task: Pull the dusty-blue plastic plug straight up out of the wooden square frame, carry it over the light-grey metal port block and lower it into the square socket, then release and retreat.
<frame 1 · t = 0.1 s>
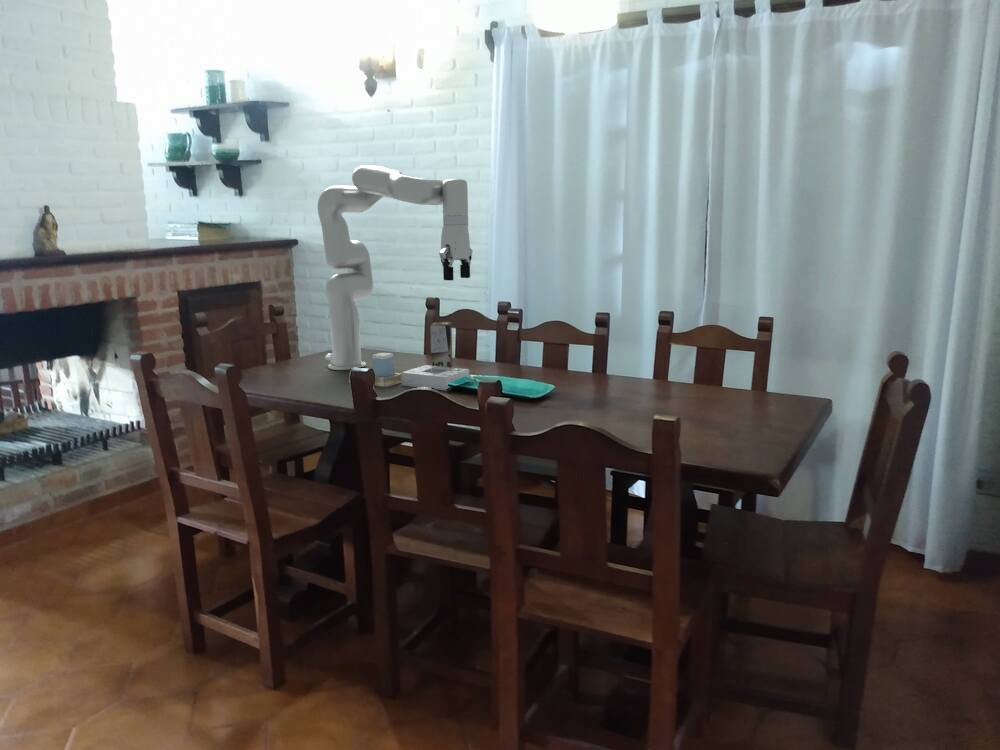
hand: (457, 279, 232), 31 cm above the table, fingers open, 9 cm apart
plug: (384, 383, 234), resting in wooden square frame
wooden square frame: (384, 382, 234), on the table
coffee box: (442, 372, 250), on the table
port: (435, 383, 232), on the table
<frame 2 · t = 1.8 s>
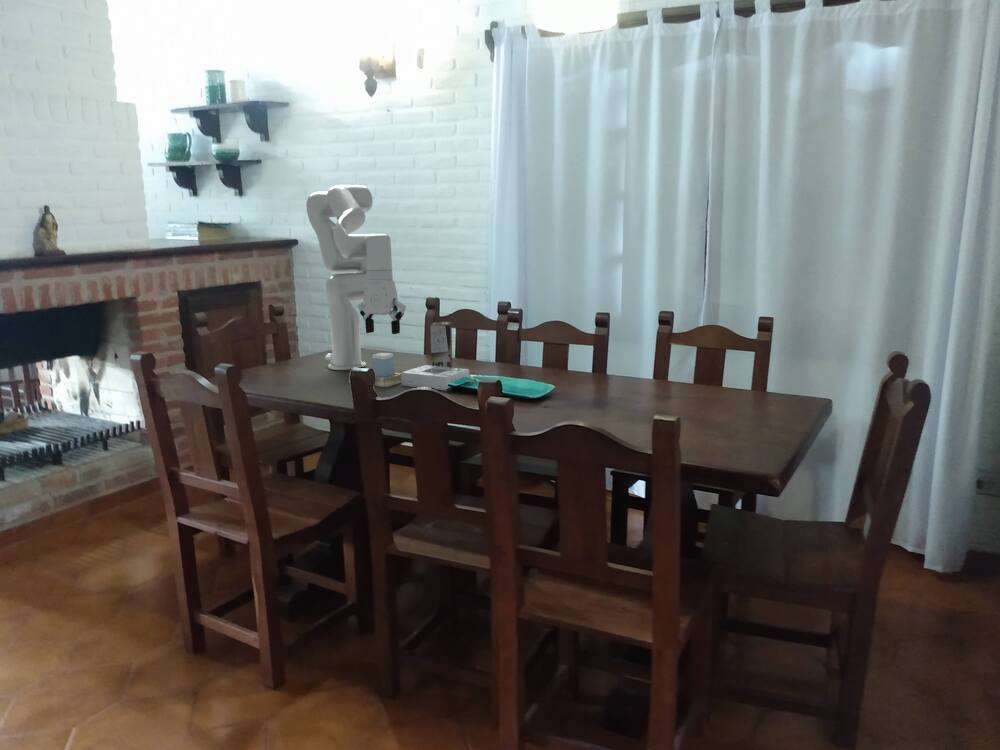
hand: (382, 333, 230), 16 cm above the table, fingers open, 9 cm apart
nothing on the table moved.
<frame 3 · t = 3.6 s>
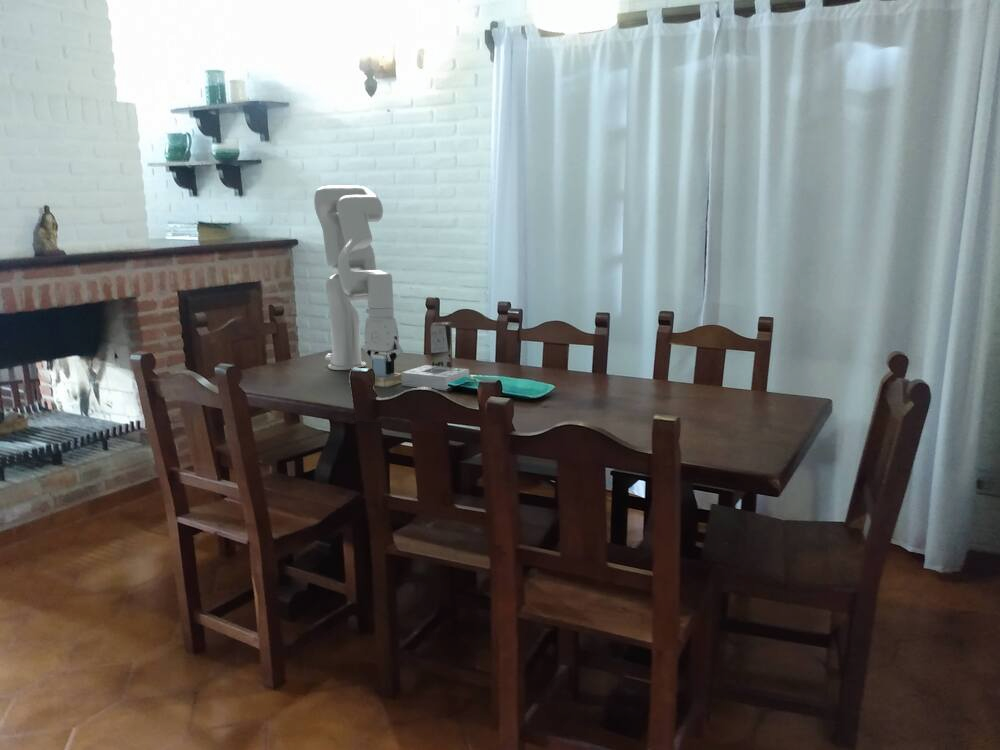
hand: (383, 372, 233), 3 cm above the table, fingers closed on plug, 4 cm apart
plug: (384, 383, 234), resting in wooden square frame, touching gripper
everything else where it was.
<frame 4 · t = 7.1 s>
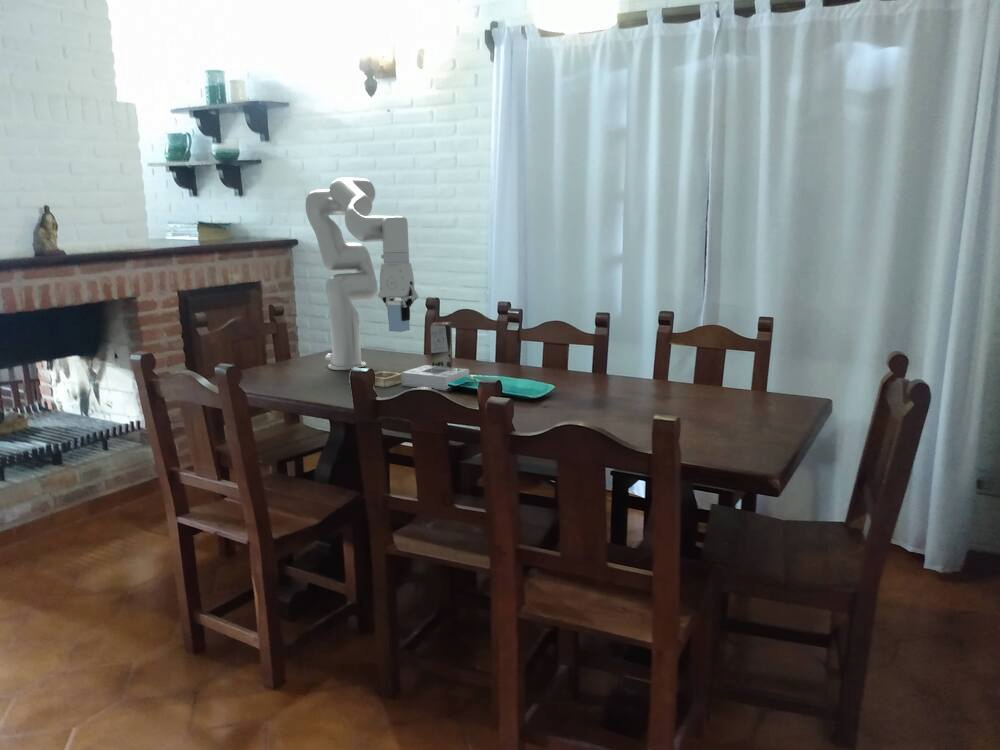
hand: (399, 319, 229), 20 cm above the table, fingers closed on plug, 4 cm apart
plug: (399, 330, 230), point 16 cm above the table, touching gripper
everything else where it was.
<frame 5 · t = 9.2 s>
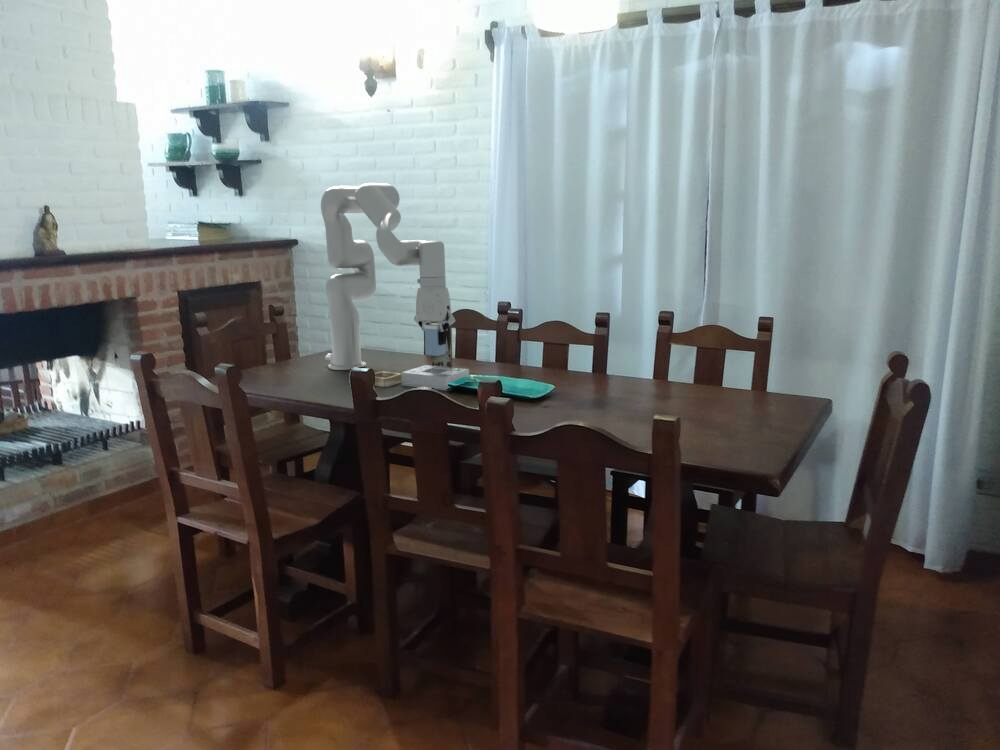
hand: (435, 343, 229), 12 cm above the table, fingers closed on plug, 4 cm apart
plug: (435, 354, 230), point 9 cm above the table, touching gripper
everything else where it was.
when the fingers open (6 cm above the table, at t = 10.9 s): plug drops 1 cm, resting on port.
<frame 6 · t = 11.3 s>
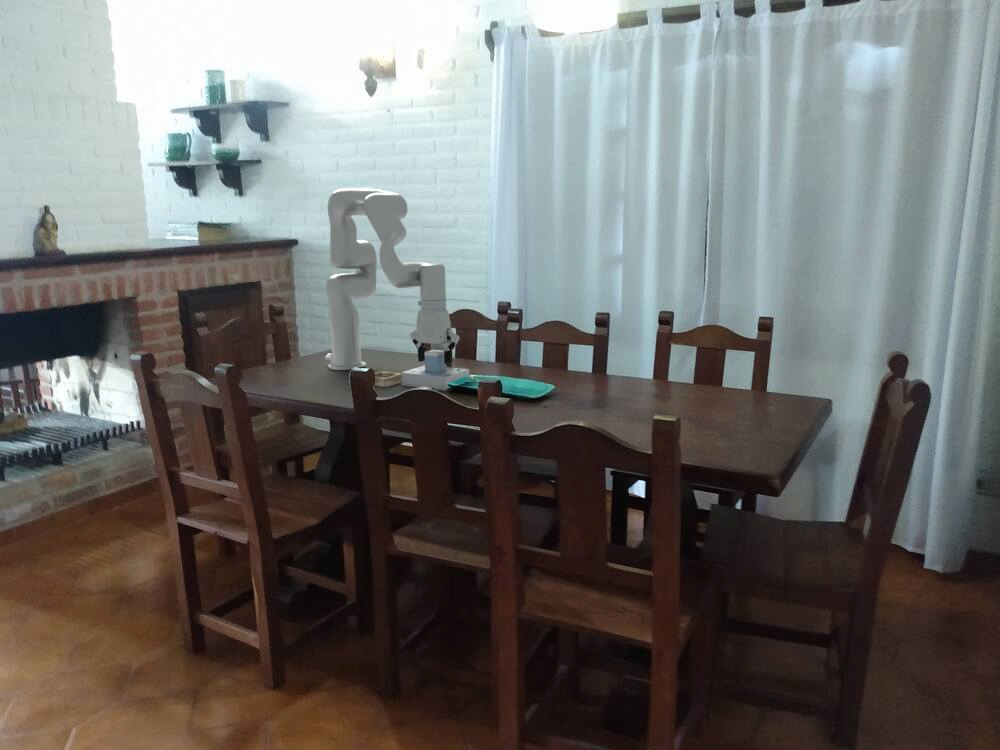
hand: (435, 362, 231), 7 cm above the table, fingers open, 9 cm apart
plug: (435, 380, 232), point 1 cm above the table, touching port
everything else where it was.
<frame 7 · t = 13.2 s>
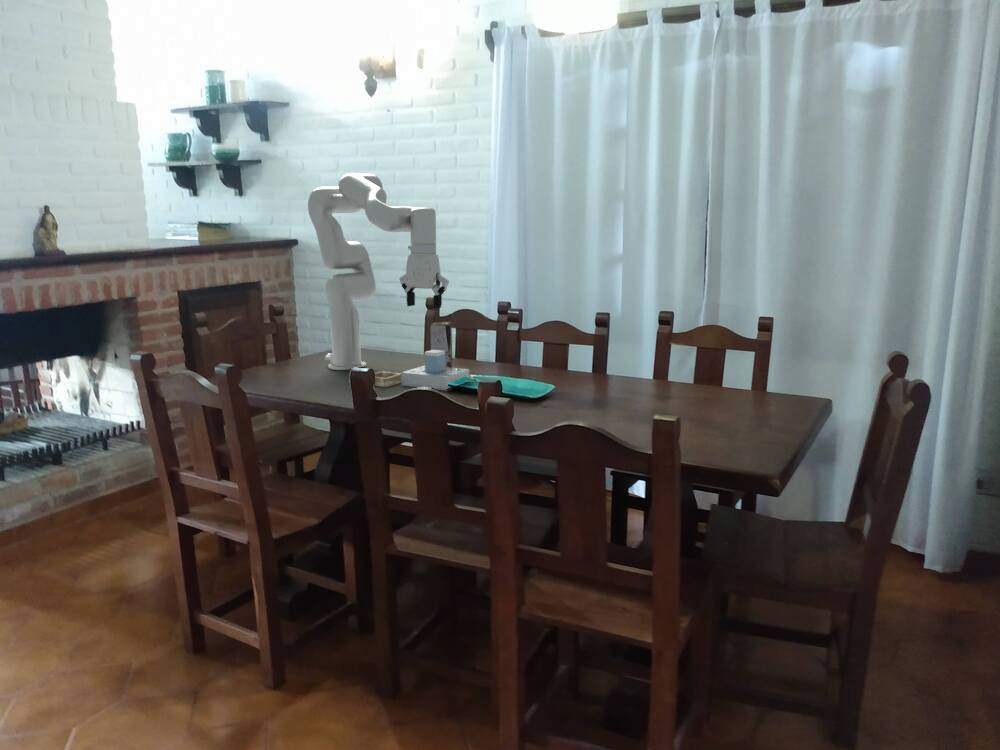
hand: (424, 306, 231), 23 cm above the table, fingers open, 9 cm apart
nothing on the table moved.
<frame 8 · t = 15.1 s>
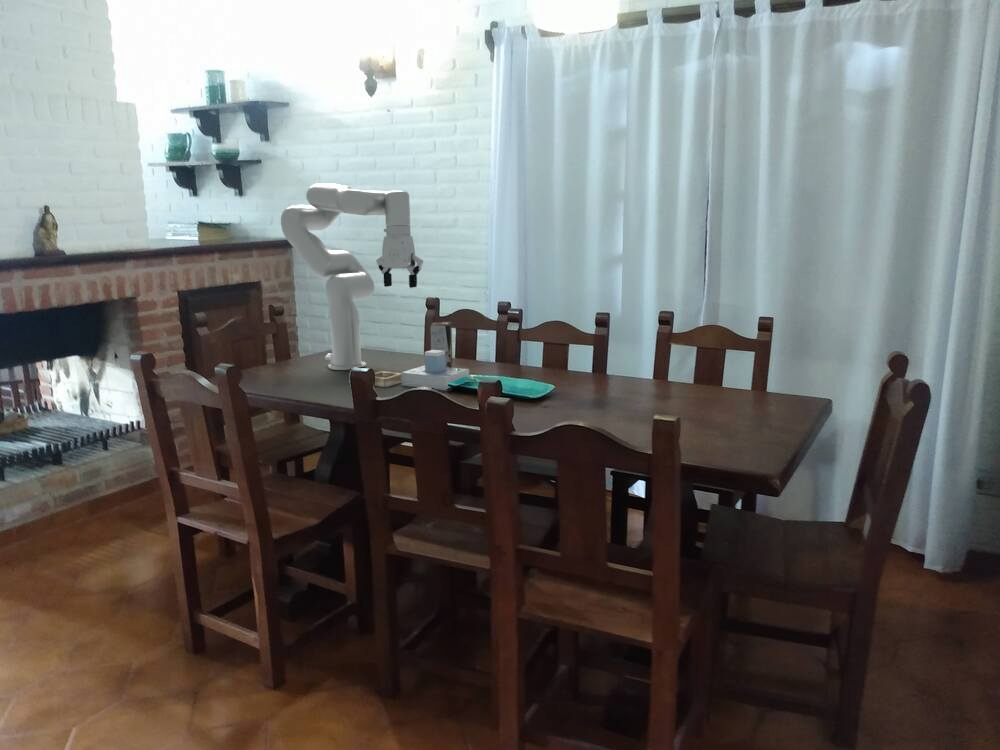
hand: (400, 286, 240), 28 cm above the table, fingers open, 9 cm apart
nothing on the table moved.
at the end: plug 0.0 cm off-centre on the port, point 1.0 cm above the port's base; plug tilted 0°; the gripper is holding nothing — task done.
